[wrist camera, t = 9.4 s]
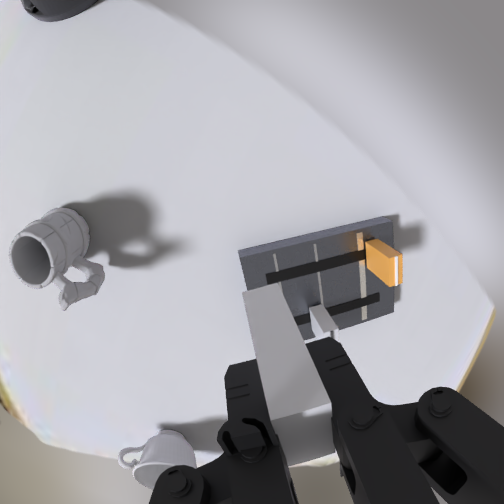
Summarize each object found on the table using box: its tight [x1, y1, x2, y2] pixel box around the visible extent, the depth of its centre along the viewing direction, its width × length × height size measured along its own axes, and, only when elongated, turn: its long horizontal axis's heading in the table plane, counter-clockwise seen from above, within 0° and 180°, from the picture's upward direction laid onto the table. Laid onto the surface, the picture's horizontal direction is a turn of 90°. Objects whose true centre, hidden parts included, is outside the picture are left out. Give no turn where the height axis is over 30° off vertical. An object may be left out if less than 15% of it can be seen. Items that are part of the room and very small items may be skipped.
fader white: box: [309, 304, 340, 343], centre depth 37 cm, size 4×2×6 cm, turn 12°
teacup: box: [118, 430, 197, 489], centre depth 44 cm, size 12×15×10 cm
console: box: [238, 217, 394, 340], centre depth 40 cm, size 14×20×3 cm
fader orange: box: [365, 239, 402, 287], centre depth 35 cm, size 4×2×6 cm, turn 12°
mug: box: [9, 208, 105, 311], centre depth 30 cm, size 8×12×12 cm, turn 48°
